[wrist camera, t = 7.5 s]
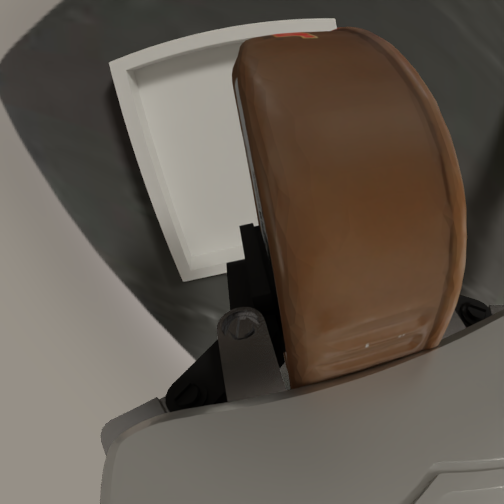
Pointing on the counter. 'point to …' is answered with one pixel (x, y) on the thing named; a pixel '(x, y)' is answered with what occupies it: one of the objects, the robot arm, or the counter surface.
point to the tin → (351, 198)
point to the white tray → (195, 140)
